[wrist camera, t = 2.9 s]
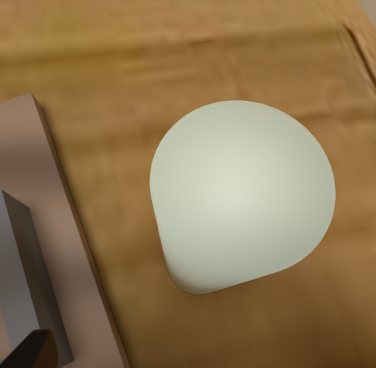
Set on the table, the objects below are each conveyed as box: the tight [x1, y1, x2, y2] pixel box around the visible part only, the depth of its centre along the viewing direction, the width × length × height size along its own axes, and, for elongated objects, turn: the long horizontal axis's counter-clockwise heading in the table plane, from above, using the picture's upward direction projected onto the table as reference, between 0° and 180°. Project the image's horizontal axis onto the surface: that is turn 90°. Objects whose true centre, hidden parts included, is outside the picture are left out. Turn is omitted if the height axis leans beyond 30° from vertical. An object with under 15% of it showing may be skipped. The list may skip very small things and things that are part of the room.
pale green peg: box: [150, 101, 335, 295], centre depth 13 cm, size 4×4×13 cm
